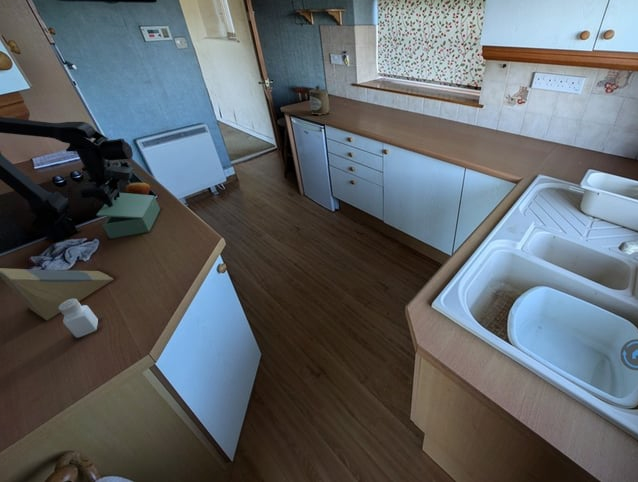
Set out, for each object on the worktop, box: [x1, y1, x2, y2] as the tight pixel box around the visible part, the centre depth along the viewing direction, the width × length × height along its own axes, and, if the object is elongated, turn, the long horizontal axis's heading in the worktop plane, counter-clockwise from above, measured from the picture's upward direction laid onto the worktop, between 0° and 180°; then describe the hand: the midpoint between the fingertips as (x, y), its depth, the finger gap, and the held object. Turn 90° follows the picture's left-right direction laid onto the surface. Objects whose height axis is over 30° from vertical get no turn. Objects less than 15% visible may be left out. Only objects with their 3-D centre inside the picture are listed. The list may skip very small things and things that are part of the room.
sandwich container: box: [0, 267, 114, 321], centre depth 78 cm, size 9×15×15 cm, turn 156°
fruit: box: [125, 182, 151, 195], centre depth 124 cm, size 8×8×8 cm
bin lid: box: [96, 188, 155, 219], centre depth 105 cm, size 12×16×5 cm
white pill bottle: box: [58, 299, 99, 339], centre depth 70 cm, size 4×4×10 cm
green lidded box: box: [102, 196, 161, 239], centre depth 109 cm, size 12×16×6 cm
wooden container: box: [308, 85, 330, 113], centre depth 236 cm, size 15×15×22 cm
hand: (114, 201), depth 104 cm, fingers closed on bin lid, 6 cm apart
